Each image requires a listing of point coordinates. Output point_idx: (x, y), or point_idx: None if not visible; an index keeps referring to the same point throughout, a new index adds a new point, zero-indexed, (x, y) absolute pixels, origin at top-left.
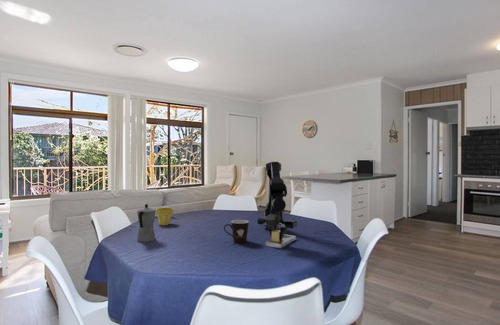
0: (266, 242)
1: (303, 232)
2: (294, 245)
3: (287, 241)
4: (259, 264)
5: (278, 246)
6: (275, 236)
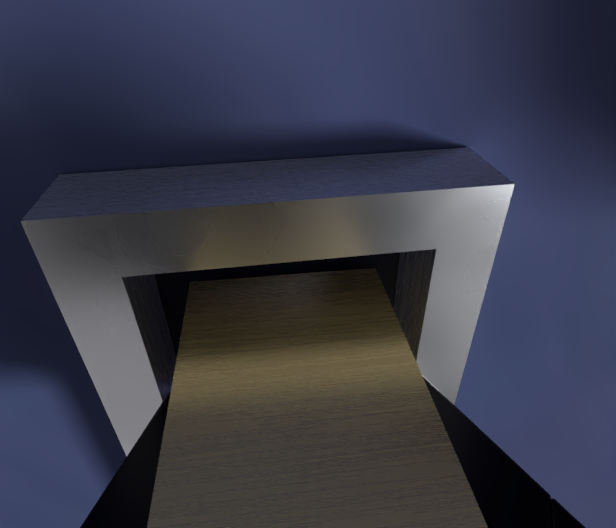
0: (480, 181)
1: None
2: (24, 441)
3: None
4: None
5: (119, 186)
6: (297, 430)
